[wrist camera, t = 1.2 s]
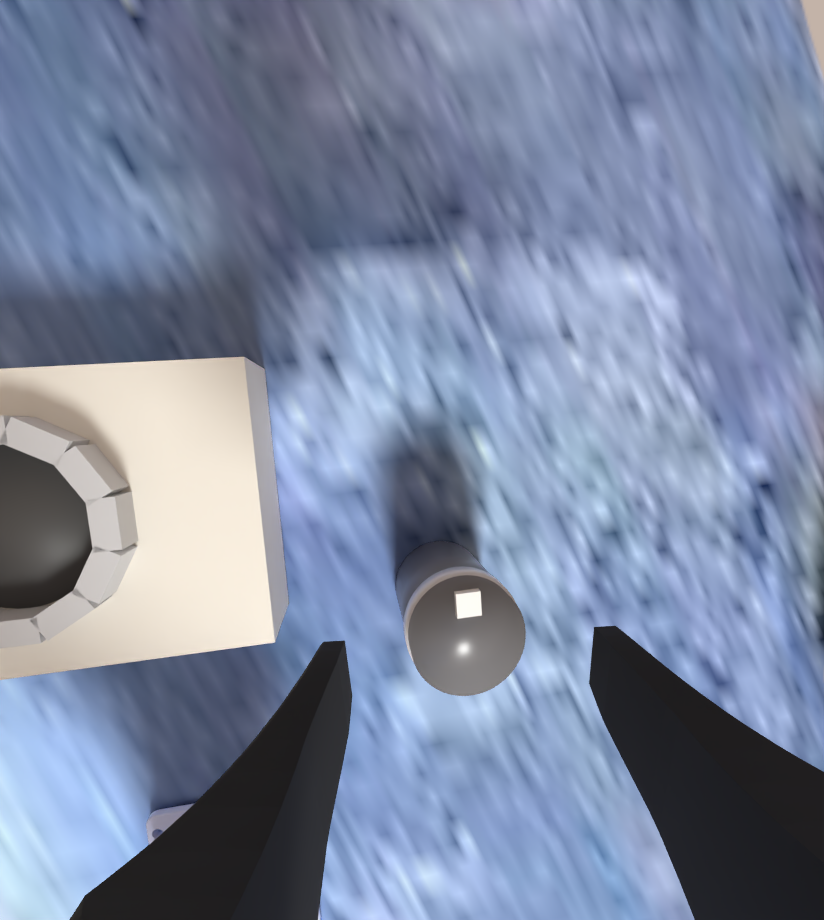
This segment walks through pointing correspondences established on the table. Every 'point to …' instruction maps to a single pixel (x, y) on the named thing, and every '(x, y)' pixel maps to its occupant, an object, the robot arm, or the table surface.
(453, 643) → the lens
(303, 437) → the table surface
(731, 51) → the table surface
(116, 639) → the camera body
